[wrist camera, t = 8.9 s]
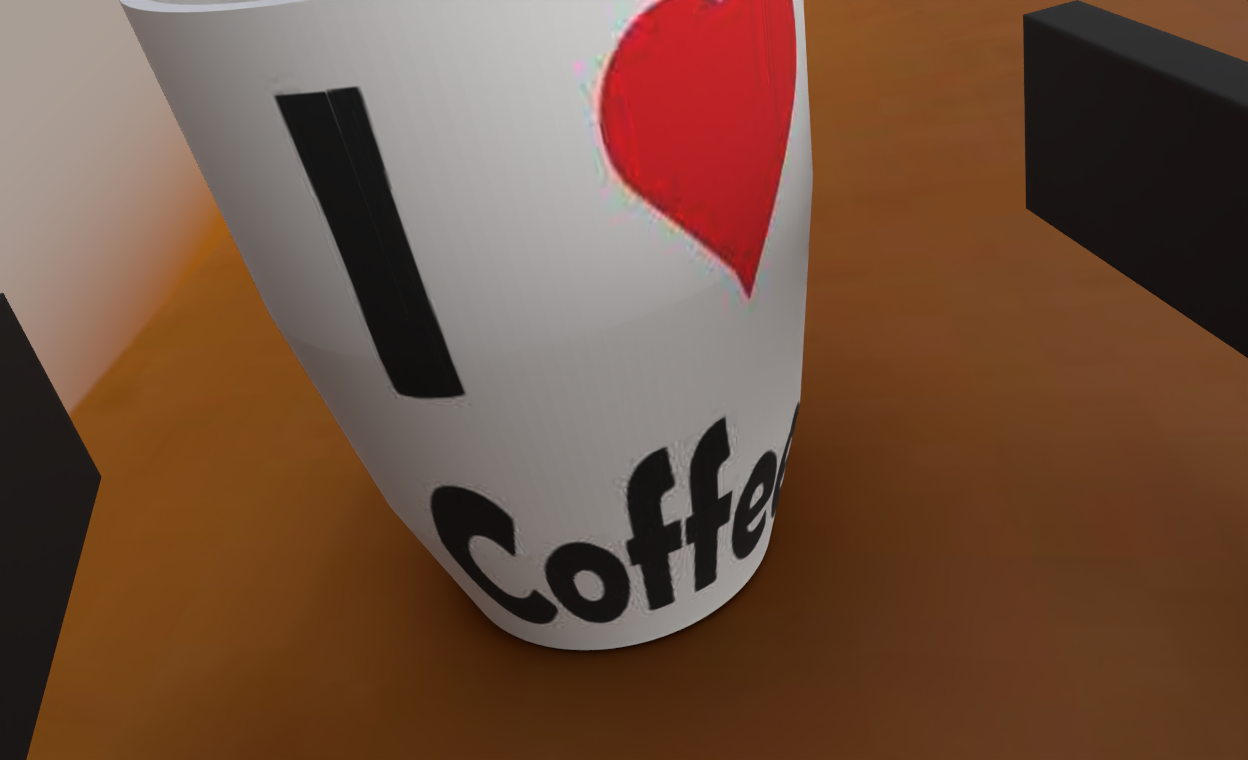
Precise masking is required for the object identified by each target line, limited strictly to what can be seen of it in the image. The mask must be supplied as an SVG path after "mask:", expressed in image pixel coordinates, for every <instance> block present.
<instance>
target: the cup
mask: <svg viewBox="0 0 1248 760" xmlns="http://www.w3.org/2000/svg"><path fill="white" fill-rule="evenodd" d="M119 1H120V3H121V5H122V7H123V9H124V11H125V13H126V15H127V17H128V20H129V22H130V24H131V26H132V28H133V30H134V32H135V34H136V36H137V38H138V40H139V42H140V44H141V47H142V49H143V51H144V52H145V55H146V57H147V59H148V61H149V63H150V65H151V67H152V70H153V72H154V74H155V76H156V78H157V80H158V82H159V84H160V86H161V88H162V91H163V93H164V95H165V96H166V99H167V101H168V103H169V105H170V107H171V109H172V112H173V114H174V116H175V118H176V120H177V122H178V124H179V126H180V128H181V130H182V132H183V134H184V137H185V138H186V141H187V143H188V145H189V147H190V149H191V151H192V153H193V155H194V157H195V160H196V162H197V164H198V166H199V168H200V170H201V172H202V174H203V176H204V178H205V180H206V182H207V184H208V187H209V189H210V191H211V193H212V195H213V197H214V199H215V201H216V203H217V205H218V207H219V210H220V212H221V214H222V216H223V218H224V220H225V222H226V224H227V226H228V229H229V231H230V233H231V235H232V237H233V239H234V241H235V243H236V245H237V247H238V249H239V252H240V254H241V256H242V258H243V260H244V262H245V264H246V266H247V268H248V270H249V272H250V275H251V277H252V279H253V281H254V283H255V285H256V287H257V289H258V291H259V293H260V295H261V298H262V300H263V302H264V304H265V306H266V308H267V310H268V312H269V314H270V315H271V317H272V319H273V320H274V322H275V323H276V325H277V327H278V328H279V330H280V331H281V333H282V335H283V336H284V338H285V339H286V341H287V343H288V344H289V346H290V347H291V349H292V351H293V352H294V354H295V355H296V357H297V359H298V360H299V362H300V363H301V365H302V367H303V368H304V370H305V372H306V373H307V375H308V376H309V378H310V380H311V381H312V383H313V384H314V386H315V388H316V389H317V391H318V392H319V394H320V396H321V397H322V399H323V400H324V402H325V404H326V405H327V407H328V408H329V410H330V412H331V413H332V415H333V416H334V418H335V420H336V421H337V423H338V424H339V426H340V428H341V429H342V431H343V432H344V434H345V436H346V437H347V439H348V440H349V442H350V444H351V445H352V447H353V448H354V450H355V452H356V453H357V455H358V456H359V458H360V460H361V461H362V463H363V464H364V466H365V468H366V469H367V471H368V472H369V474H370V476H371V477H372V479H373V480H374V482H375V484H376V485H377V487H378V488H379V490H380V492H381V493H382V495H383V496H384V498H385V500H386V501H387V503H388V504H389V506H390V507H391V508H392V510H393V511H394V512H395V513H396V514H397V516H398V517H399V518H400V519H401V520H402V521H403V522H404V523H405V525H406V526H407V527H408V528H409V529H410V530H411V531H412V533H413V534H414V535H415V536H416V537H417V538H418V539H419V540H420V542H421V543H422V544H423V545H424V546H425V547H426V548H427V549H428V551H429V552H430V553H431V554H432V555H433V556H434V557H435V559H436V560H437V561H438V562H439V563H440V564H441V565H442V566H443V568H444V569H445V570H446V571H447V572H448V573H449V574H450V575H451V577H452V578H453V579H454V580H455V581H456V582H457V583H458V585H459V586H460V587H461V588H462V589H463V590H464V591H465V592H466V594H467V595H468V596H469V597H470V598H471V599H472V600H473V601H474V603H475V604H476V605H477V606H478V607H479V608H480V609H481V611H482V612H483V613H484V614H485V615H486V616H487V617H488V618H489V619H490V620H491V621H492V622H493V623H495V624H496V625H497V626H499V627H500V628H501V629H503V630H505V631H506V632H508V633H510V634H512V635H514V636H516V637H518V638H520V639H523V640H526V641H528V642H532V643H535V644H539V645H542V646H547V647H553V648H559V649H569V650H601V649H611V648H619V647H625V646H630V645H635V644H639V643H643V642H647V641H650V640H654V639H657V638H660V637H663V636H666V635H668V634H671V633H674V632H676V631H678V630H681V629H683V628H685V627H687V626H689V625H691V624H693V623H695V622H697V621H699V620H701V619H702V618H704V617H706V616H707V615H709V614H710V613H712V612H713V611H715V610H716V609H718V608H719V607H721V606H722V605H723V604H725V603H726V602H727V601H728V600H729V599H731V598H732V597H733V596H734V595H735V594H736V593H737V592H738V591H739V590H740V589H741V588H742V587H743V586H744V585H745V584H746V583H747V582H748V580H749V579H750V578H751V577H752V575H753V574H754V572H755V571H756V569H757V568H758V566H759V565H760V563H761V561H762V559H763V557H764V555H765V552H766V550H767V547H768V543H769V539H770V535H771V530H772V526H773V521H774V517H775V512H776V508H777V503H778V499H779V494H780V490H781V485H782V481H783V477H784V472H785V468H786V463H787V459H788V454H789V450H790V445H791V441H792V436H793V432H794V427H795V423H796V418H797V414H798V409H799V405H800V395H801V377H802V359H803V342H804V324H805V306H806V289H807V271H808V253H809V236H810V218H811V200H812V183H813V171H812V152H811V134H810V116H809V97H808V79H807V60H806V42H805V24H804V5H803V0H119Z"/></svg>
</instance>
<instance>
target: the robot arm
mask: <svg viewBox="0 0 1248 760" xmlns="http://www.w3.org/2000/svg"><path fill="white" fill-rule="evenodd" d="M1023 29H1024V97H1025V165H1026V208H1027V209H1028V210H1030V211H1031V212H1033V213H1034V214H1036V215H1037V216H1038V217H1040V218H1041V219H1043V220H1044V221H1046V222H1047V223H1049V224H1050V225H1052V226H1053V227H1055V228H1056V229H1058V230H1059V231H1061V232H1062V233H1064V234H1065V235H1067V236H1068V237H1070V238H1071V239H1073V240H1074V241H1075V242H1077V243H1078V244H1080V245H1081V246H1083V247H1084V248H1086V249H1087V250H1089V251H1090V252H1092V253H1093V254H1095V255H1096V256H1098V257H1099V258H1101V259H1102V260H1104V261H1105V262H1107V263H1108V264H1110V265H1111V266H1112V267H1114V268H1115V269H1117V270H1118V271H1120V272H1121V273H1123V274H1124V275H1126V276H1127V277H1129V278H1130V279H1132V280H1133V281H1135V282H1136V283H1138V284H1139V285H1141V286H1142V287H1144V288H1145V289H1146V290H1148V291H1149V292H1151V293H1152V294H1154V295H1155V296H1157V297H1158V298H1160V299H1161V300H1163V301H1164V302H1166V303H1167V304H1169V305H1170V306H1172V307H1173V308H1175V309H1176V310H1178V311H1179V312H1181V313H1182V314H1183V315H1185V316H1186V317H1188V318H1189V319H1191V320H1192V321H1194V322H1195V323H1197V324H1198V325H1200V326H1201V327H1203V328H1204V329H1206V330H1207V331H1209V332H1210V333H1212V334H1213V335H1215V336H1216V337H1218V338H1219V339H1220V340H1222V341H1223V342H1225V343H1226V344H1228V345H1229V346H1231V347H1232V348H1234V349H1235V350H1237V351H1238V352H1240V353H1241V354H1243V355H1244V356H1246V357H1247V358H1248V62H1246V61H1244V60H1241V59H1238V58H1235V57H1233V56H1230V55H1227V54H1224V53H1222V52H1219V51H1216V50H1213V49H1211V48H1208V47H1205V46H1202V45H1200V44H1197V43H1194V42H1191V41H1189V40H1186V39H1183V38H1180V37H1177V36H1175V35H1172V34H1169V33H1166V32H1164V31H1161V30H1158V29H1155V28H1153V27H1150V26H1147V25H1144V24H1142V23H1139V22H1136V21H1133V20H1131V19H1128V18H1125V17H1122V16H1120V15H1117V14H1114V13H1111V12H1109V11H1106V10H1103V9H1100V8H1098V7H1095V6H1092V5H1089V4H1086V3H1084V2H1081V1H1078V0H1076V1H1072V2H1069V3H1065V4H1061V5H1058V6H1054V7H1050V8H1047V9H1043V10H1039V11H1036V12H1032V13H1028V14H1025V15H1023ZM100 480H101V475H100V473H99V472H98V470H97V468H96V466H95V464H94V462H93V460H92V458H91V457H90V455H89V453H88V451H87V449H86V447H85V445H84V443H83V442H82V440H81V438H80V436H79V434H78V432H77V430H76V428H75V427H74V425H73V423H72V421H71V419H70V417H69V415H68V413H67V412H66V410H65V408H64V406H63V404H62V402H61V400H60V399H59V397H58V395H57V393H56V391H55V389H54V387H53V385H52V383H51V382H50V380H49V378H48V376H47V374H46V372H45V370H44V368H43V367H42V365H41V363H40V361H39V359H38V357H37V355H36V353H35V352H34V350H33V348H32V346H31V344H30V342H29V340H28V338H27V337H26V335H25V333H24V331H23V329H22V327H21V325H20V323H19V322H18V320H17V318H16V316H15V314H14V312H13V311H12V308H11V307H10V305H9V303H8V301H7V299H6V297H5V295H4V293H1V294H0V760H26V758H27V754H28V751H29V747H30V743H31V739H32V736H33V732H34V728H35V724H36V721H37V717H38V713H39V709H40V706H41V702H42V698H43V694H44V691H45V687H46V683H47V679H48V676H49V672H50V668H51V664H52V661H53V657H54V653H55V649H56V645H57V642H58V638H59V634H60V630H61V627H62V623H63V619H64V615H65V612H66V608H67V604H68V600H69V597H70V593H71V589H72V585H73V582H74V578H75V574H76V570H77V567H78V563H79V559H80V555H81V552H82V548H83V544H84V540H85V537H86V533H87V529H88V525H89V521H90V518H91V514H92V510H93V506H94V503H95V499H96V495H97V491H98V488H99V484H100Z"/></svg>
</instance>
